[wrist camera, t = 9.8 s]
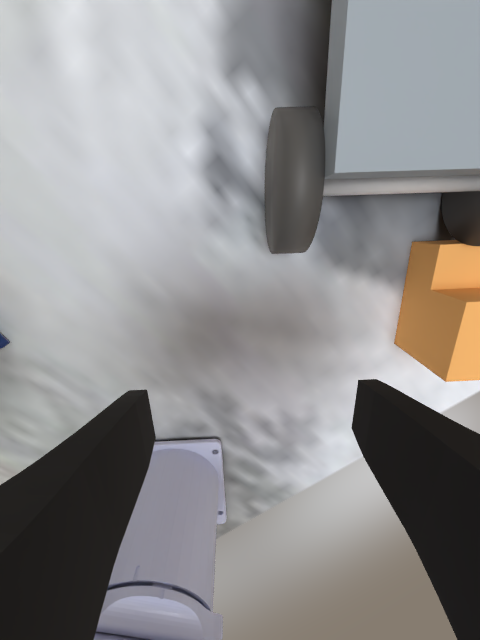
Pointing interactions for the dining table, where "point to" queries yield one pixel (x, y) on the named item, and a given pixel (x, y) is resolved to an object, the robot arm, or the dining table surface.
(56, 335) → the dining table surface
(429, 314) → the block
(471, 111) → the trolley
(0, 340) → the juice carton
